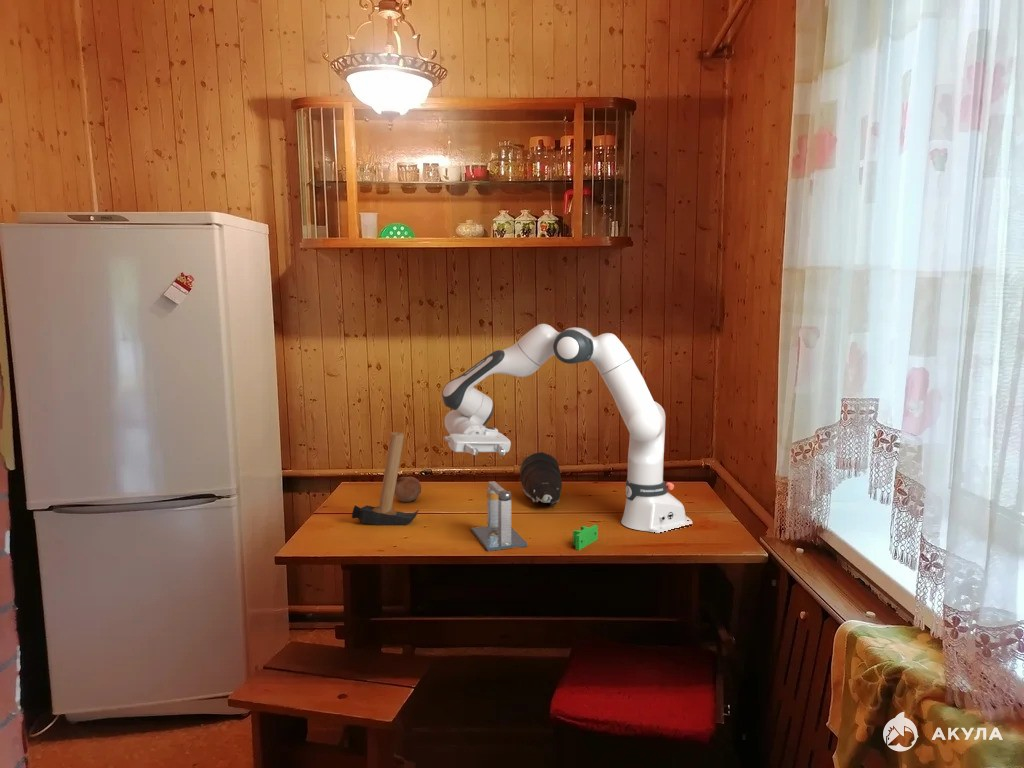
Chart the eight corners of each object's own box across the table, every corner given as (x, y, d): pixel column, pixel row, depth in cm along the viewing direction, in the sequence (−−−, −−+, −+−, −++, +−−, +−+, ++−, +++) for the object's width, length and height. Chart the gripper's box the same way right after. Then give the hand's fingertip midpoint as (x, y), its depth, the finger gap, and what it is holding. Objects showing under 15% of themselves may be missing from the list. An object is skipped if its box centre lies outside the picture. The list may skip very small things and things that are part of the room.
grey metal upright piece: (497, 527, 218) (497, 480, 216) (512, 543, 205) (512, 493, 202) (486, 528, 217) (485, 481, 215) (500, 544, 203) (500, 494, 201)
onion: (398, 511, 247) (385, 488, 243) (405, 496, 255) (393, 474, 252) (422, 503, 244) (409, 480, 241) (428, 489, 253) (416, 466, 249)
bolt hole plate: (508, 526, 222) (508, 523, 222) (527, 546, 205) (527, 542, 205) (471, 530, 218) (471, 527, 218) (488, 551, 201) (487, 547, 201)
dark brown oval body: (528, 479, 232) (521, 448, 256) (521, 520, 237) (515, 486, 261) (572, 484, 234) (561, 453, 258) (564, 524, 239) (555, 490, 262)
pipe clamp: (586, 537, 213) (586, 523, 213) (597, 540, 211) (597, 525, 210) (567, 548, 204) (567, 533, 203) (578, 551, 202) (579, 535, 201)
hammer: (415, 527, 228) (431, 437, 224) (413, 532, 223) (429, 441, 219) (354, 515, 228) (369, 426, 224) (351, 520, 223) (366, 429, 219)
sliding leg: (497, 526, 218) (496, 487, 216) (500, 530, 215) (500, 490, 213) (487, 527, 217) (486, 488, 215) (490, 531, 214) (490, 491, 212)
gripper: (443, 426, 223) (460, 443, 211) (500, 428, 233) (520, 443, 221) (440, 445, 224) (457, 462, 213) (497, 446, 234) (516, 462, 223)
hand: (489, 453), depth 217 cm, fingers open, 8 cm apart
